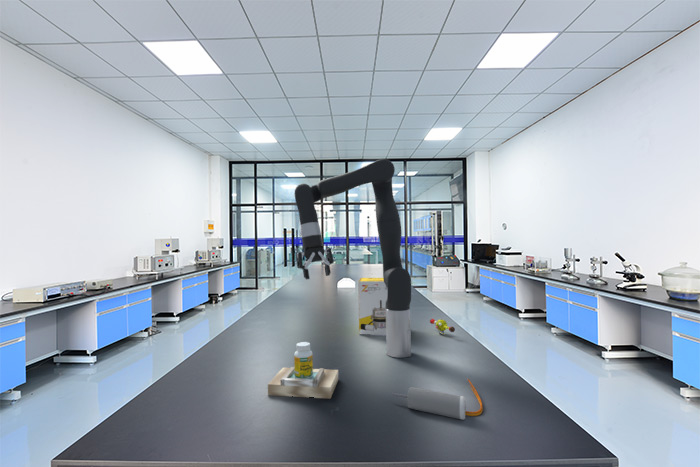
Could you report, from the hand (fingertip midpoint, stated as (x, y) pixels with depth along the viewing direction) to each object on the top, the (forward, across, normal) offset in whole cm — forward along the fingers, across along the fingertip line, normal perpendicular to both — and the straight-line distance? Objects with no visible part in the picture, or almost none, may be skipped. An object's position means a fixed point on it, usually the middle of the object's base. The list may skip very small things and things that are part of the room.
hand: (318, 277), depth 116 cm
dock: (+31, -17, -16) cm, 39 cm away
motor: (+38, +12, -40) cm, 56 cm away
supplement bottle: (+28, -18, -17) cm, 37 cm away
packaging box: (+31, +37, +22) cm, 53 cm away
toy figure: (+36, +58, 0) cm, 68 cm away
